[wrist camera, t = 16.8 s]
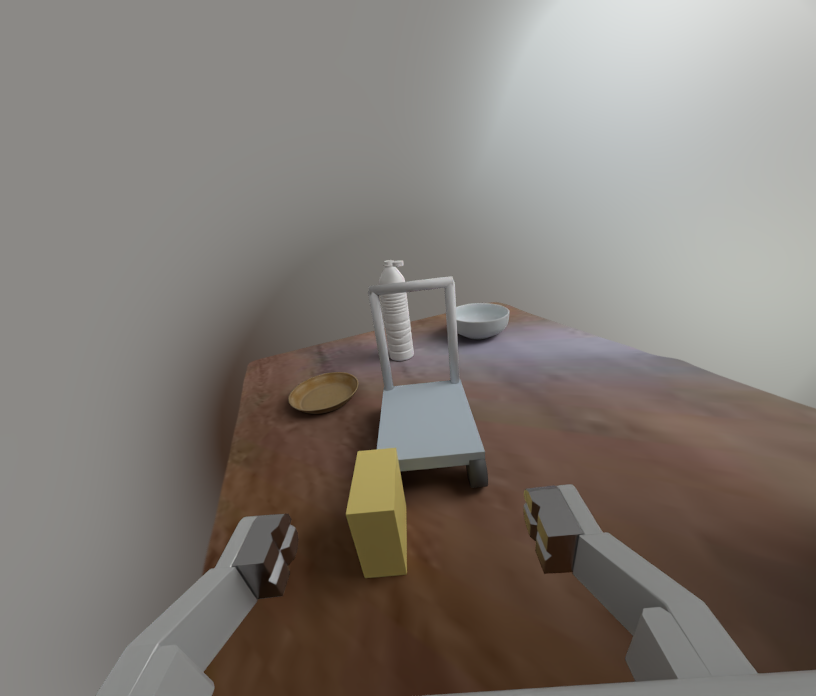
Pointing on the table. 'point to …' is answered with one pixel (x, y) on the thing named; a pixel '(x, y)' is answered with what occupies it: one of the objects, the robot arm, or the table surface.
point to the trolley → (428, 401)
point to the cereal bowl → (481, 320)
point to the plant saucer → (323, 392)
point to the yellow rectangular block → (378, 513)
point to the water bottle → (396, 314)
